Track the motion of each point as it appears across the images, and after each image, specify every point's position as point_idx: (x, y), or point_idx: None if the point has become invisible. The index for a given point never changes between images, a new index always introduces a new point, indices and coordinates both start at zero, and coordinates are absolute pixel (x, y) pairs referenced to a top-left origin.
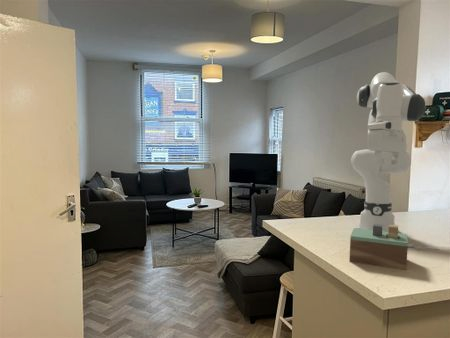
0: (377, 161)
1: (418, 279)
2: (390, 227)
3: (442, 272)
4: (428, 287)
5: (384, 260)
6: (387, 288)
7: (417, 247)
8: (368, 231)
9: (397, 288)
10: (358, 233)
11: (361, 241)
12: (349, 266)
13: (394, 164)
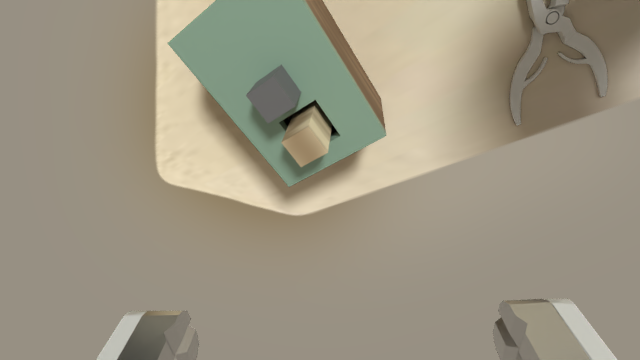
0: (115, 340)
1: None
2: (285, 145)
3: (381, 183)
4: (272, 201)
5: None
6: (192, 166)
7: (568, 44)
8: (286, 35)
9: (211, 175)
10: (223, 34)
11: None
12: None
13: (495, 330)
